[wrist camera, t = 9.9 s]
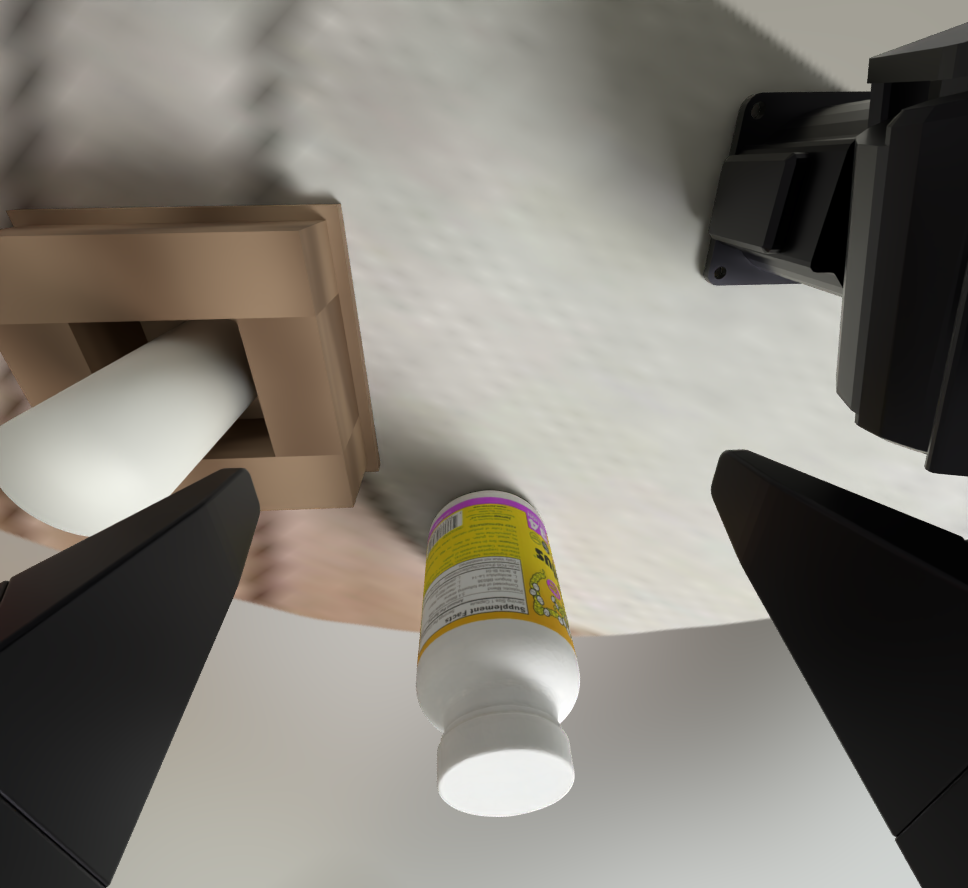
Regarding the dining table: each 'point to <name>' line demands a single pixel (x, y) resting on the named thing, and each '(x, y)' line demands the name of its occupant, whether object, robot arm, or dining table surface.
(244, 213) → the socket
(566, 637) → the supplement bottle
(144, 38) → the dining table surface
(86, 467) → the peg
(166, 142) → the dining table surface
